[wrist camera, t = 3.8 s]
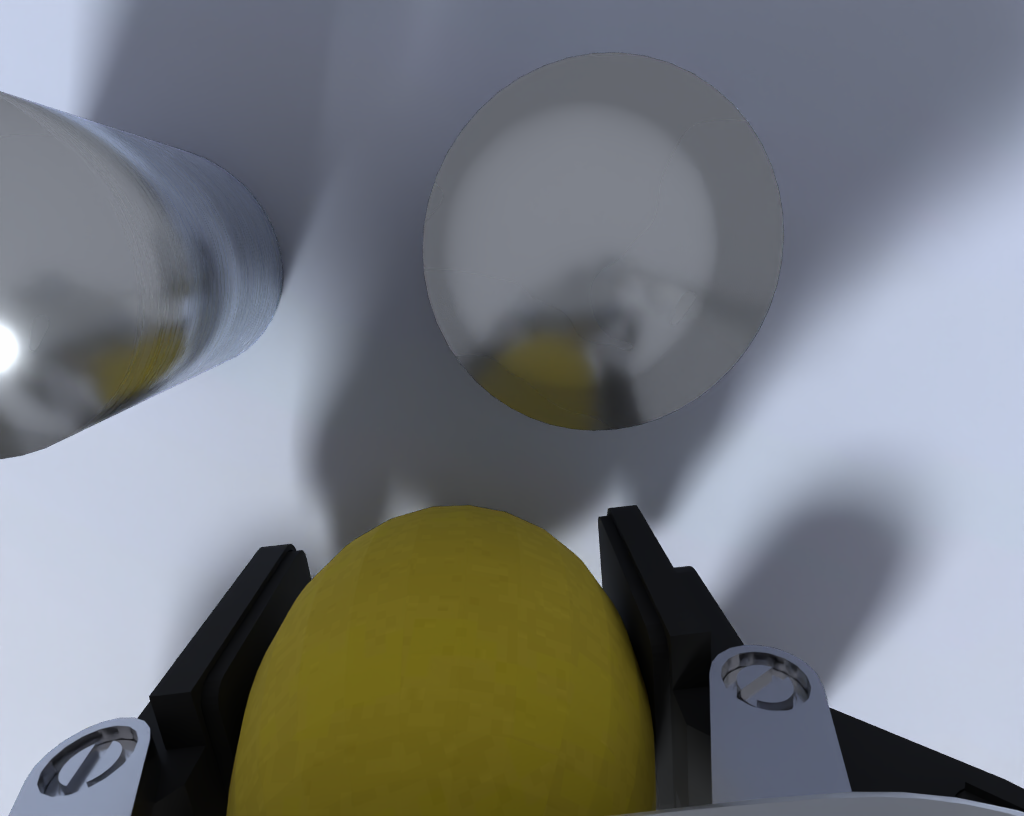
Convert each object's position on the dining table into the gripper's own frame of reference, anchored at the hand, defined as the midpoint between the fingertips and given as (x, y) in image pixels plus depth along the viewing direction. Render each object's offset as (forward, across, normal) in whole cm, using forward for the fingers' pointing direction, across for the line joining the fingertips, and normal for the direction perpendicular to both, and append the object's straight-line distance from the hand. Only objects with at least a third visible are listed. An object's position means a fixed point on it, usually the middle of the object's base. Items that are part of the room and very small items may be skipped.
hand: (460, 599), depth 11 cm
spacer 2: (+2, -2, -6) cm, 7 cm away
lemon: (+1, 0, 0) cm, 1 cm away
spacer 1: (+2, +5, -7) cm, 8 cm away
